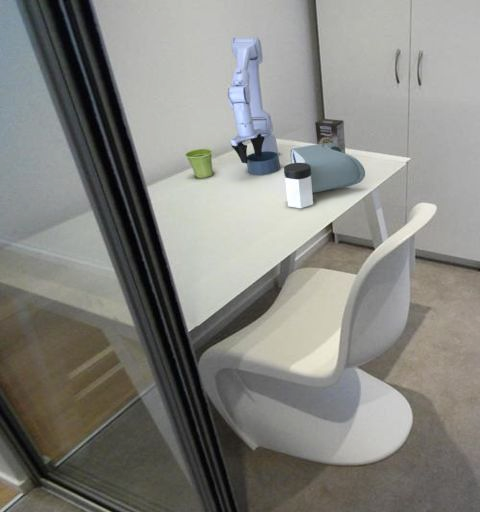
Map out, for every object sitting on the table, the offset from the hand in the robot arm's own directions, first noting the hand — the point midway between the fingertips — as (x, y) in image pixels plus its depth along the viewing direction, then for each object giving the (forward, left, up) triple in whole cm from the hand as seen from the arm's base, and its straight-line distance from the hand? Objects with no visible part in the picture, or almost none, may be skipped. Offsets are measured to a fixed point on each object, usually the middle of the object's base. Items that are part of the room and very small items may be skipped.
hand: (251, 159), depth 160 cm
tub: (-6, 0, -6) cm, 8 cm away
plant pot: (+8, -17, -6) cm, 20 cm away
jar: (+15, +32, -6) cm, 36 cm away
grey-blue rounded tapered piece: (-2, +32, -6) cm, 32 cm away
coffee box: (-22, +21, -6) cm, 31 cm away
